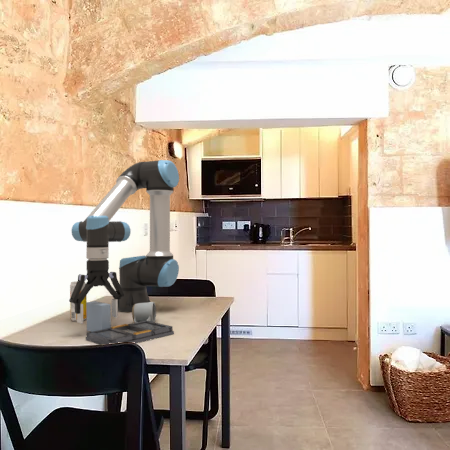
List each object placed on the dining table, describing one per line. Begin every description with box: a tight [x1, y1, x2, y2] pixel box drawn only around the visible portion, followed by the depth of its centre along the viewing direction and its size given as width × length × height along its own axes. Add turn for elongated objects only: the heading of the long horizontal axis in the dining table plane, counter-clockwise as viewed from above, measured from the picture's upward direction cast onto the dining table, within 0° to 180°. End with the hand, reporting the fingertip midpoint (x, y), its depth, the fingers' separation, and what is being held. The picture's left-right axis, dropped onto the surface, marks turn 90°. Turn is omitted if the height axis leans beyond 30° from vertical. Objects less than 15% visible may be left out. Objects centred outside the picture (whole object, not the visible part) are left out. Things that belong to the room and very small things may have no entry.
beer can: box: [69, 280, 88, 323], centre depth 181 cm, size 6×6×15 cm
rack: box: [85, 321, 175, 345], centre depth 154 cm, size 16×24×3 cm, turn 136°
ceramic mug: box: [131, 301, 157, 323], centre depth 175 cm, size 11×8×8 cm
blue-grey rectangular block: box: [86, 300, 112, 332], centre depth 162 cm, size 10×4×10 cm, turn 46°
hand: (97, 320), depth 162 cm, fingers open, 13 cm apart
